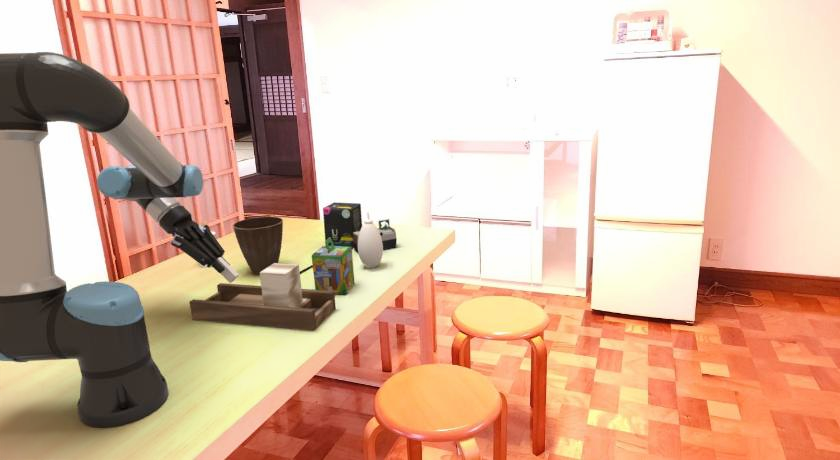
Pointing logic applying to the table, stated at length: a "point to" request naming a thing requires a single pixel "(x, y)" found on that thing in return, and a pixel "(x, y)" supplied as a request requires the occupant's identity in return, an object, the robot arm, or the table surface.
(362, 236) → the grey rubber bulb
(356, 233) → the camera
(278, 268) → the cream block
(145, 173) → the robot arm
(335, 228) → the tampon box
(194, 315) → the tray
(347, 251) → the chalk box
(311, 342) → the table surface
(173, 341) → the table surface
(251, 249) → the plant pot
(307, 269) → the pen
